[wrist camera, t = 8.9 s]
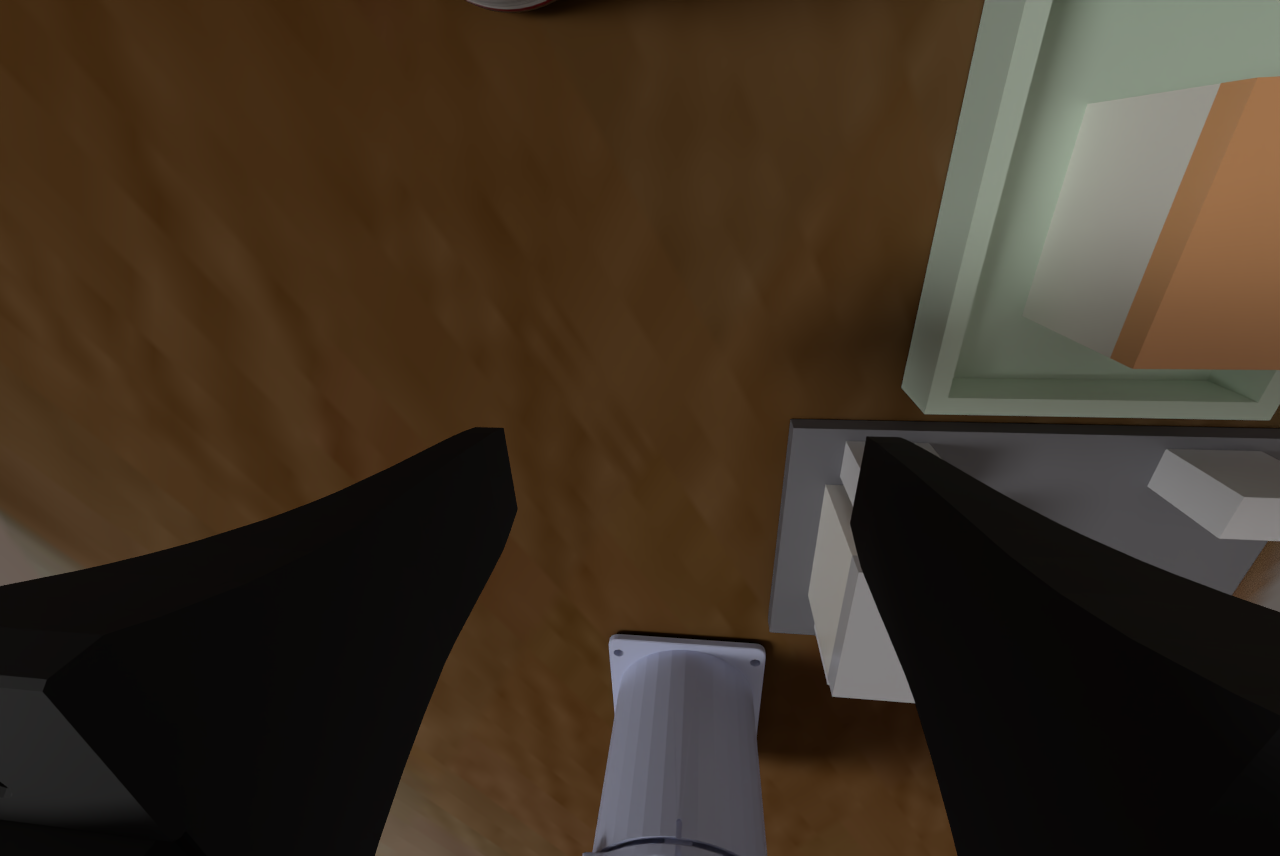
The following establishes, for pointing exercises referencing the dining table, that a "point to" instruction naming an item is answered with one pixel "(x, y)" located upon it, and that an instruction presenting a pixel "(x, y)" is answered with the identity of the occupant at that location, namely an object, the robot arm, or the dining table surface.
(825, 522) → the block
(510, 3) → the soda can
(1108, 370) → the tray
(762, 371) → the dining table surface
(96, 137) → the dining table surface
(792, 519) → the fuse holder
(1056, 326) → the block
